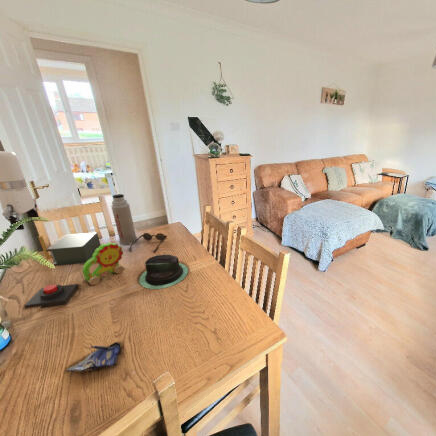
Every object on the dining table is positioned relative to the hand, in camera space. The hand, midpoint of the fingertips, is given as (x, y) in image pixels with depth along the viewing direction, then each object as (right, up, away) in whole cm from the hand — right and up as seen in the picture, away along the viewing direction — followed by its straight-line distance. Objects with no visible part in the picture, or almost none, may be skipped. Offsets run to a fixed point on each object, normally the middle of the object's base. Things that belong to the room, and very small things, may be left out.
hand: (27, 224), depth 99 cm
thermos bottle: (+15, -11, +39) cm, 43 cm away
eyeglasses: (+29, -13, +35) cm, 48 cm away
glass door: (-5, -17, +17) cm, 25 cm away
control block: (+17, -29, -5) cm, 34 cm away
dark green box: (+2, -16, +23) cm, 28 cm away
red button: (+17, -25, -7) cm, 31 cm away
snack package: (+53, -40, -28) cm, 72 cm away
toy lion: (+26, -24, +9) cm, 37 cm away
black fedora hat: (+51, -24, +12) cm, 57 cm away
